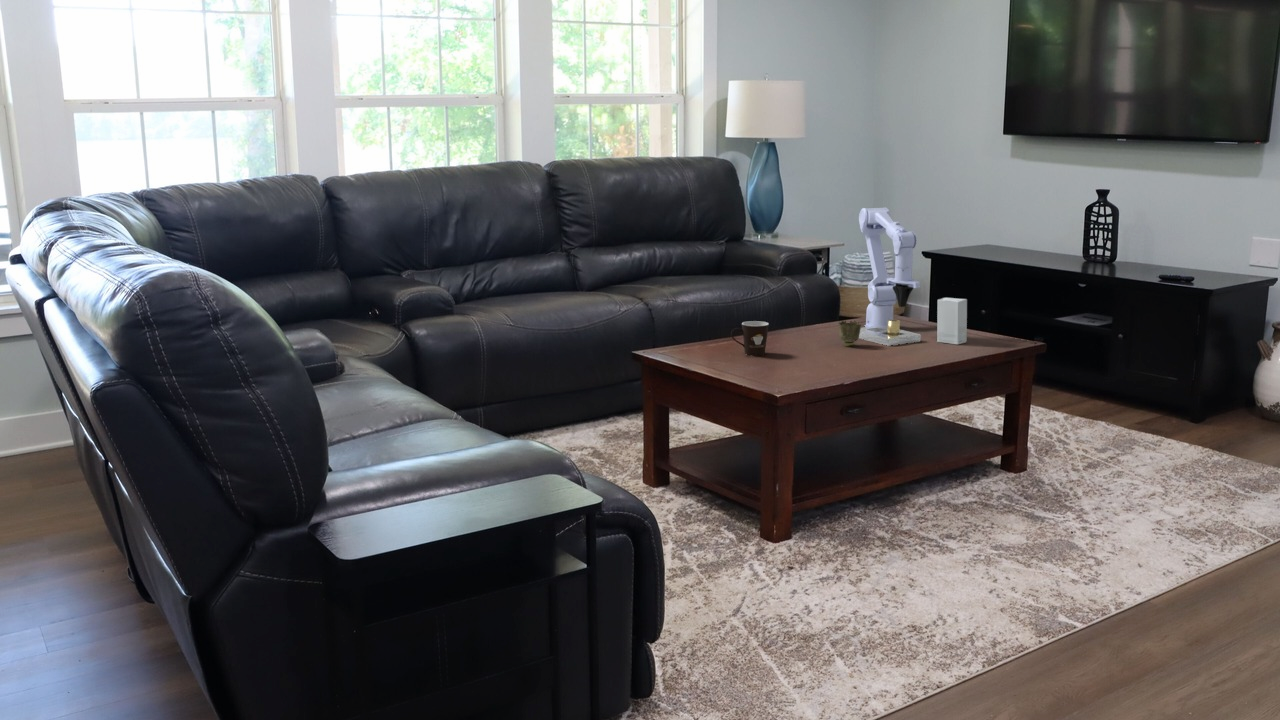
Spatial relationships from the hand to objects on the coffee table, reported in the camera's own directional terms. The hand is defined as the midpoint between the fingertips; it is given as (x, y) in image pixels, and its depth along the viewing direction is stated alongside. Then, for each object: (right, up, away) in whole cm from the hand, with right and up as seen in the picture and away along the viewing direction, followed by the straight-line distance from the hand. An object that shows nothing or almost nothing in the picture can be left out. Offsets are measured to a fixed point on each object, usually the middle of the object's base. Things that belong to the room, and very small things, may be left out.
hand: (902, 306), depth 377 cm
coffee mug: (-55, -17, -23) cm, 62 cm away
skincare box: (+14, -13, -9) cm, 21 cm away
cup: (-21, -14, -13) cm, 28 cm away
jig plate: (-7, -11, -2) cm, 13 cm away
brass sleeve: (-4, -12, -5) cm, 14 cm away
